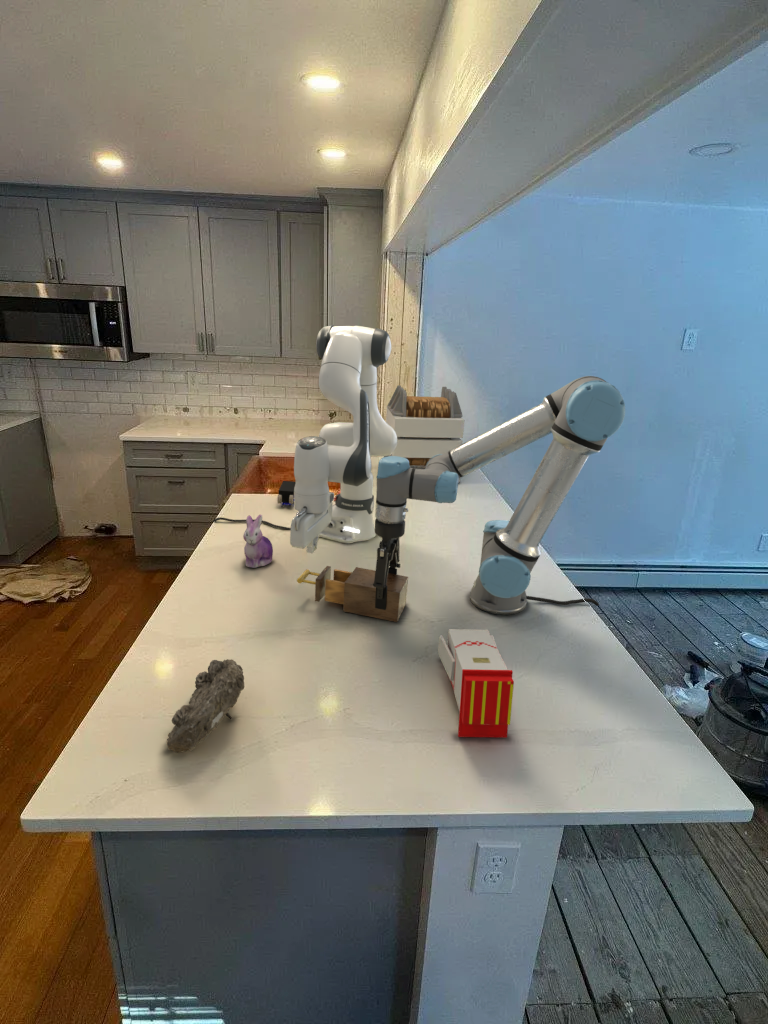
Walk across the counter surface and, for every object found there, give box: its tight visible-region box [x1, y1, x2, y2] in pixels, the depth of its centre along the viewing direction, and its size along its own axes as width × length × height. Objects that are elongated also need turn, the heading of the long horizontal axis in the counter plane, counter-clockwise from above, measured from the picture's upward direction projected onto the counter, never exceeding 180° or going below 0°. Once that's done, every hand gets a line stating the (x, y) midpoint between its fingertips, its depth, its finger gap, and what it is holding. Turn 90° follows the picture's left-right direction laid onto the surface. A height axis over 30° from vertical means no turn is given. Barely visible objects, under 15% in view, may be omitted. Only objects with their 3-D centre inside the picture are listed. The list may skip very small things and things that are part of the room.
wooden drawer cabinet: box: [342, 566, 409, 623], centre depth 148 cm, size 14×10×8 cm, turn 75°
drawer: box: [296, 565, 353, 605], centre depth 151 cm, size 19×8×7 cm, turn 75°
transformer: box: [383, 384, 465, 484], centre depth 268 cm, size 34×33×41 cm
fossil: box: [166, 658, 245, 754], centre depth 106 cm, size 22×10×15 cm
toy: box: [437, 628, 515, 738], centre depth 117 cm, size 12×13×30 cm
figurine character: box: [276, 480, 296, 509], centre depth 224 cm, size 7×8×15 cm
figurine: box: [242, 514, 274, 569], centre depth 170 cm, size 9×10×15 cm
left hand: (311, 551), depth 149 cm, fingers closed
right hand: (385, 599), depth 148 cm, fingers closed on wooden drawer cabinet, 10 cm apart
